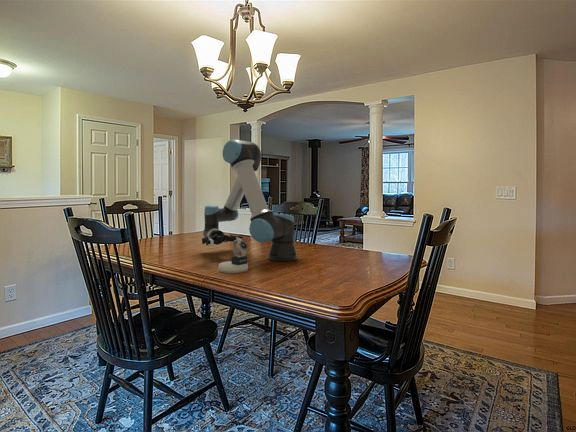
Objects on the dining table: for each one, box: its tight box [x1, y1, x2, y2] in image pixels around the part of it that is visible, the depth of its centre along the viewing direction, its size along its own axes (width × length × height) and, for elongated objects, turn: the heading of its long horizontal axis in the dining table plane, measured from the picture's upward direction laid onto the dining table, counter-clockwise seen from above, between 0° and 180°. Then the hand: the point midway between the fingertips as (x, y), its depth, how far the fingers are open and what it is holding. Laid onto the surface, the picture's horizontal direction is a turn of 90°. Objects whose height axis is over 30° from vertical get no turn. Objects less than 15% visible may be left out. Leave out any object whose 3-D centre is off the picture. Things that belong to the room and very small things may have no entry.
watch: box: [231, 239, 249, 265], centre depth 164 cm, size 6×8×11 cm
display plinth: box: [218, 260, 249, 274], centre depth 164 cm, size 13×13×2 cm
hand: (227, 242), depth 172 cm, fingers open, 13 cm apart
